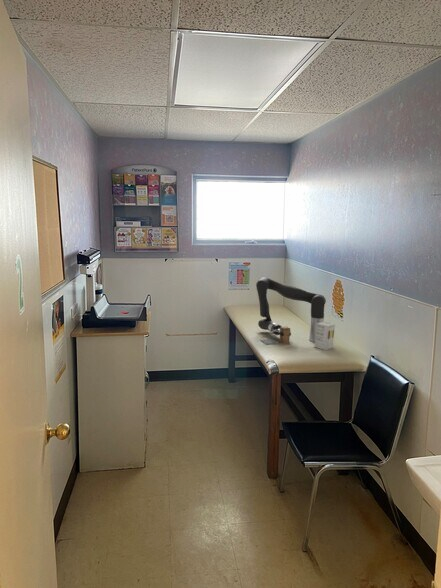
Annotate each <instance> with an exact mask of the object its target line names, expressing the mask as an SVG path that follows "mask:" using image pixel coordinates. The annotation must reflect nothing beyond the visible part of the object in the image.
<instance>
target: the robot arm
mask: <svg viewBox="0 0 441 588" xmlns="http://www.w3.org/2000/svg"><path fill="white" fill-rule="evenodd" d="M255 286H256V291H257V296H258V301H259V302H258V303H259V315H260V317H262V318H263V319H260V320H259V321H258V324H257V325H258V327H259V328H260V329H261V330H265V331H269V332H270V333H271V334H273V335H275V336H280V335H281V336H284V333H282V332H281V331H280V327H283V326H282V325H280V324H279V323H277V322H273V320H272V318H271V314H270V305H269V300H268V296H267V294H268V293H267V292H268V290H270V291H274V292H277V293H278V294H279V295H281V296H282V297H284V298H286V299H289V300H293V301H300V302H306V303H308V304H310V323H309V336H308V340H309V341H310V342H312V343H313V342H314V343H315V336H316V324H317V323H321V322H325V321H324V320H325V306H326V305H325V304H326V303H327V300H326V298H325V296H324V295H322V294H318V293H313V292H309V291H306V290H304V289H301V288H298V287H295V286H292V285H289V284H287V283H286V284H285V283H284V282H283V283H282V282H279V281H276V280H273V279H271V278H269V277H266V276H263V277H260V279H258V280H257V282H256V285H255ZM291 336H292V333H291V330H290V337H291Z"/></svg>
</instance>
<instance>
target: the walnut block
mask: <svg viewBox="0 0 441 588" xmlns="http://www.w3.org/2000/svg"><path fill="white" fill-rule="evenodd" d="M280 331H281V332H282V333H284V336H281V335H279V343H281V344H283V345H287V344H290V340H291V339H290V338H291V336H290V333H291V332H290V331H291V327H288V326H282V327H280Z"/></svg>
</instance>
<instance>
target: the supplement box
mask: <svg viewBox="0 0 441 588" xmlns="http://www.w3.org/2000/svg"><path fill="white" fill-rule="evenodd" d="M335 328H336V323H331V322H327V321H324V322H321V323H317V324H316V336H315V342H314V347H315V348H318V349H320V350H324V351H327V350H330V349H333V348H334V341H335V340H334V339H335Z"/></svg>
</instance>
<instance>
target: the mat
mask: <svg viewBox="0 0 441 588" xmlns="http://www.w3.org/2000/svg"><path fill="white" fill-rule="evenodd" d="M260 342H262V343H263V344H265V345H279V344H280V341H277V340H275V339H273V338H270V339H260Z"/></svg>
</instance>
